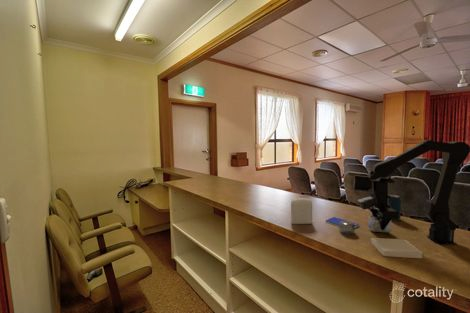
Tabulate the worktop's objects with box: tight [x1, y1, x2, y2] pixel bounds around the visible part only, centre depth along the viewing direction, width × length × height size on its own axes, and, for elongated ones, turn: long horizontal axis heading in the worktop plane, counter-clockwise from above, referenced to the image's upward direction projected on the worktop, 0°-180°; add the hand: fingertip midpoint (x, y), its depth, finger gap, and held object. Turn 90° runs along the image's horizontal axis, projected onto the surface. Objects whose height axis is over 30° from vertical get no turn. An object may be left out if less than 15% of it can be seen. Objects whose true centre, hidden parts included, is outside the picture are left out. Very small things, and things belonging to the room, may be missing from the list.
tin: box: [338, 220, 356, 236], centre depth 97 cm, size 6×6×4 cm
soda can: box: [387, 193, 402, 222], centre depth 112 cm, size 7×7×12 cm
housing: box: [367, 215, 393, 233], centre depth 96 cm, size 7×5×6 cm
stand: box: [370, 237, 423, 259], centre depth 81 cm, size 12×10×2 cm
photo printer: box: [290, 197, 313, 225], centre depth 108 cm, size 10×4×12 cm, turn 90°
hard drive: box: [325, 216, 360, 229], centre depth 106 cm, size 2×8×12 cm
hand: (379, 227), depth 96 cm, fingers closed on housing, 5 cm apart
